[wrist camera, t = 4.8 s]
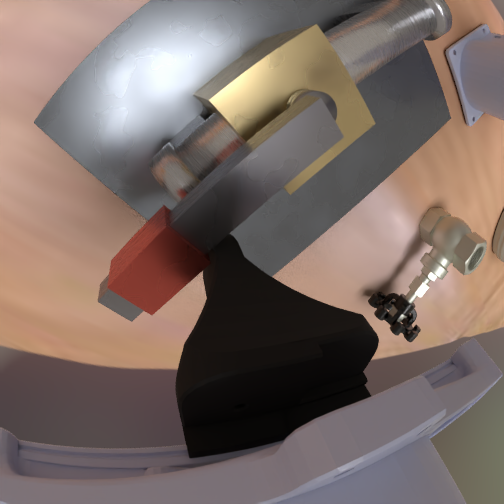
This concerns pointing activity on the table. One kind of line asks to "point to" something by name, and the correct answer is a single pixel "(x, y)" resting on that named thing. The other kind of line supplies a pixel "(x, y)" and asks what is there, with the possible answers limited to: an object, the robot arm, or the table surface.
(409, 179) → the table surface
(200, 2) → the pipe stand
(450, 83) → the table surface
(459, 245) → the valve
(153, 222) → the valve lever
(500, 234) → the jar
